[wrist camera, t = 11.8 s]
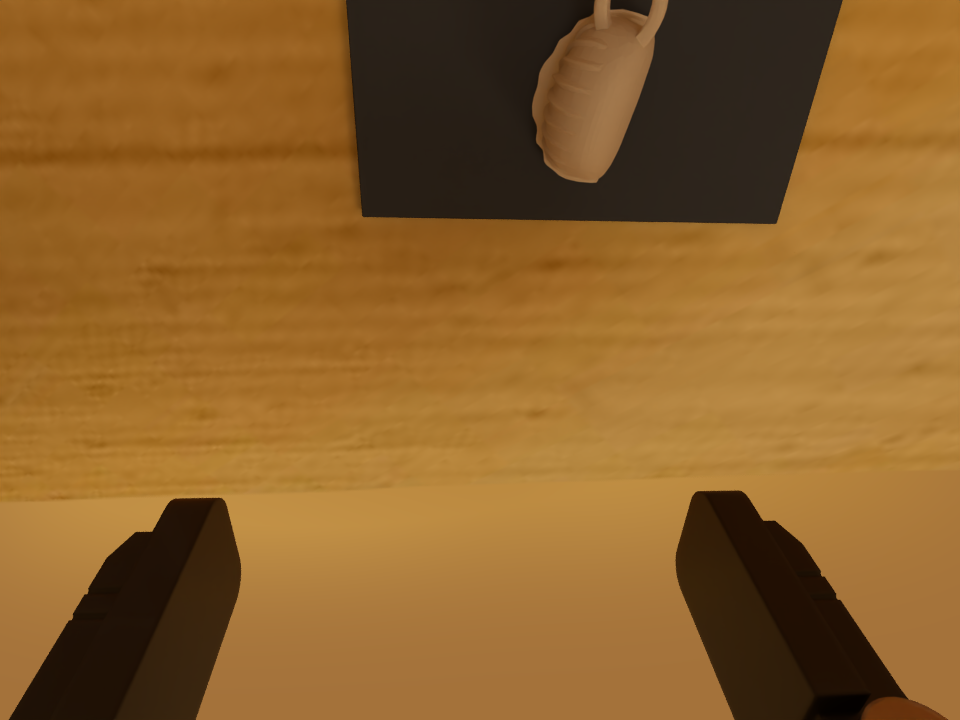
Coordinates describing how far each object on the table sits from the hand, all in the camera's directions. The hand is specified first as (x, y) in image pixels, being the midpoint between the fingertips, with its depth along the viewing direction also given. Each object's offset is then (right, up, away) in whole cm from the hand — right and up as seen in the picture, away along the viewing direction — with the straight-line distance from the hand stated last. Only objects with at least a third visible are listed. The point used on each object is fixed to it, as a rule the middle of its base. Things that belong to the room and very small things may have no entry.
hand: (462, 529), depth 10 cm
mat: (+5, +15, +15) cm, 22 cm away
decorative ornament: (+5, +15, +15) cm, 22 cm away
